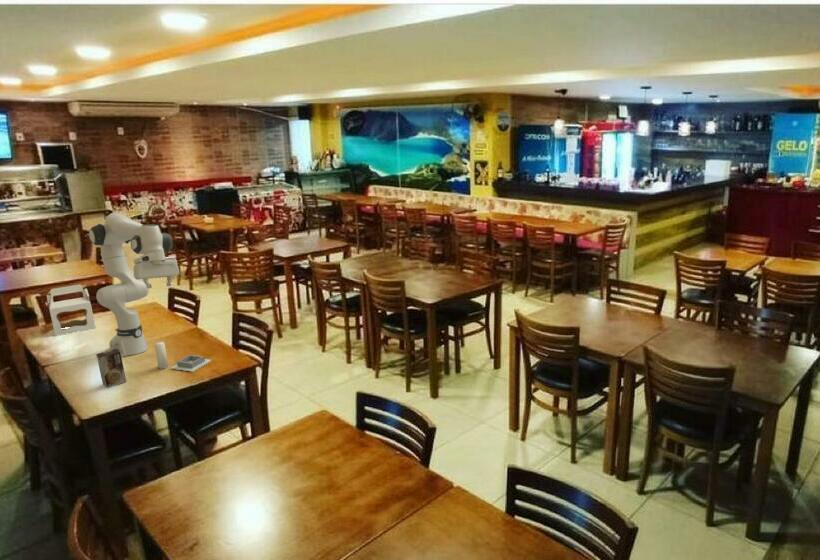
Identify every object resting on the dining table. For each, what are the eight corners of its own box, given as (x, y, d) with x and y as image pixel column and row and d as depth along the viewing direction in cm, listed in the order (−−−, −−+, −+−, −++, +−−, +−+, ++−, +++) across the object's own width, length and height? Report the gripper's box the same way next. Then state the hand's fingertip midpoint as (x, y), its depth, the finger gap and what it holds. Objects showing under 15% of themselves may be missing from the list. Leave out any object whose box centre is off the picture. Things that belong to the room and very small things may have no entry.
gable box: (94, 322, 360) (85, 281, 352) (96, 328, 349) (87, 285, 342) (54, 330, 348) (44, 287, 341) (54, 336, 338) (44, 292, 330)
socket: (171, 369, 283) (169, 363, 282) (190, 358, 295) (189, 352, 294) (192, 372, 278) (191, 366, 277) (211, 361, 290) (211, 355, 289)
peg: (156, 368, 284) (152, 344, 281) (163, 364, 289) (159, 341, 285) (163, 369, 283) (159, 345, 279) (170, 365, 287) (166, 342, 283)
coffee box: (122, 378, 275) (116, 347, 270) (126, 382, 270) (120, 351, 266) (102, 384, 268) (95, 353, 264) (106, 388, 264) (100, 357, 260)
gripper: (172, 257, 270) (177, 285, 270) (129, 260, 254) (134, 290, 254) (179, 255, 266) (183, 284, 266) (135, 258, 250) (140, 288, 250)
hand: (159, 287), depth 260 cm, fingers open, 8 cm apart
